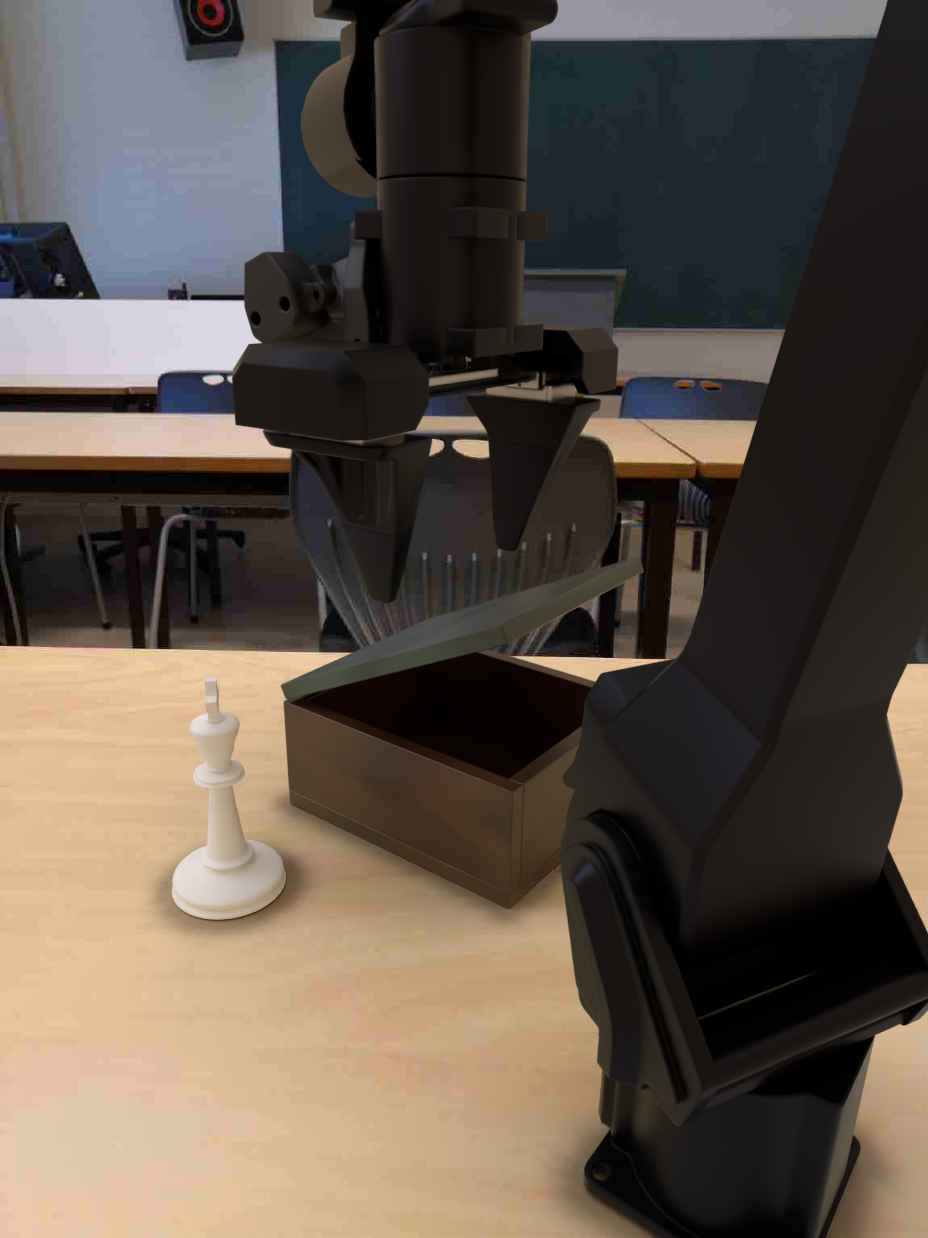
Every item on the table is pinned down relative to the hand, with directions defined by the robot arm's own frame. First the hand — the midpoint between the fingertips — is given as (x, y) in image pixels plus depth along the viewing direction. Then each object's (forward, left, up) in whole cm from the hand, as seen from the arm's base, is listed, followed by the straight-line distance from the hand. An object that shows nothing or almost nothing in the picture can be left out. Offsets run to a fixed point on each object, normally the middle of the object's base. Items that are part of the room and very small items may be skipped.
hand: (450, 572), depth 41 cm
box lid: (+1, -3, -4) cm, 5 cm away
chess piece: (+5, +9, -13) cm, 17 cm away
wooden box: (+1, -3, -13) cm, 13 cm away
